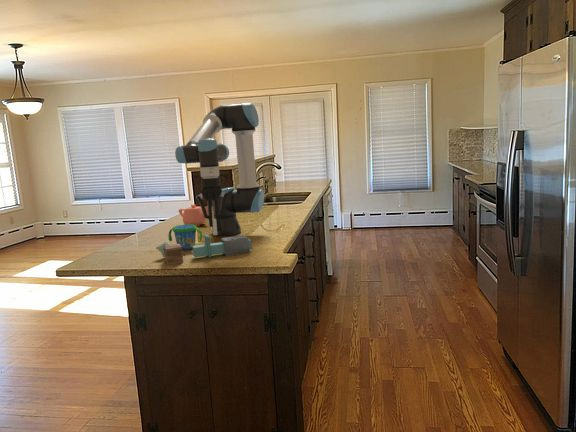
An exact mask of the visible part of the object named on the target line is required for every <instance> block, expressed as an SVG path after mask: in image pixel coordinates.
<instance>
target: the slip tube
mask: <svg viewBox="0 0 576 432" xmlns="http://www.w3.org/2000/svg"><path fill="white" fill-rule="evenodd" d="M210 239H211V237H210V236H209V235H208V233H206V234H205V233H204V242H205V243H203V244H198V245H196V244H195V246H192V247H193V248H192V254H193V257H194V258H201V257H207V258H208V259H211V258H212V256H216V255H224V254H223V253H225V243H224V242H222V241H219V242H212V243H211V240H210ZM248 242H249V251H250V250H253V248H252V246H253V245H252V240H251V239H250V238H248Z"/></svg>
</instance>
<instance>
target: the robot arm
mask: <svg viewBox="0 0 576 432" xmlns="http://www.w3.org/2000/svg"><path fill="white" fill-rule="evenodd" d="M259 120H260V119H259V114H258V111H257V108H256V106H255V105H254V104H253V103H251V102H243V103H233V104H231V103H230V104H223V105H219V106H216V107H215V108H213V109H212V110H211V111H209V112H208V113H207V114H206V115H205V116H204V118H203V120H202V124H201V125H200V127H198V129H197V130H196V132H195V133H193V135H192V136H191V138H190V139H189V140H188V142H187V143H186V145H179V146H177V147H176V148H175V151H174V154H175V160H176V161H177V163H179V164H186V165H187V164H199V167H200V168H199V170H200V177H201V180H200V181H201V182H200V183H201V191H200V193H199V194H198V195H196V196H195V199H196V200H197V201H198V202H199V203H198V204H199V207H201V209H202V212H203V215H204V217H205V218H206V220H207V219H208V224H209V227H210V228H211V229H210V230H211V235H213V236H217V237H218V236H219V237H220V236H221V237H223V236H234V235H237V234H240V233H241V232H242V228H241V225H240V223H239V220H238V217H237V213H238V214H239V213H240V214H241V213H242V214H246V213H250V214H252V213H259V212H261V211H262V210H263V207H264V203H265V191H264V190H263V188H260V187H261V186H260V184H259V183H258V182H257V175H256V172H257V171H256V162H255V159H256V158H255V148H254V147H255V146H254V133H255V132H256V128H258V126H259V124H260V123H259V122H260V121H259ZM226 129H229V130H230V129H231V133H233V134H234V136H235V145H236V146H235V148H236V159H237V169H238V171H237V172H238V182H239V183H238V185H237V186H236V189H235V187H231V186H230V187H225V188H222V187H221V178H220V177H219V176H220V167H219V166H220V165H219V164H220V162H221V163H222V162H225V161H226V160H227V159H229V156H230V149H229V147H228V146H227V145H226V144H224V143H223V144H222V143H218V141H217V139H216V138H214V137H215V135H216V134H218V133H219V132H220V131H222V130H226ZM203 199H205V200H206V204H207V205H206V206H208V215H207V212H206V207H205V203H204V201H203Z"/></svg>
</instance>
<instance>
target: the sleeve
mask: <svg viewBox="0 0 576 432" xmlns="http://www.w3.org/2000/svg"><path fill="white" fill-rule="evenodd" d="M248 239H249V237H247V236H246V235H235V236H227V237H221V238H220V240H221V241H220V242H224V243H225V253H223V254H222V255H224V256H225V257H229V256H236V255H237V254H238V255H243V254H242V253H245V254H249V253H250V250H249V242H248ZM238 255H237V256H238Z"/></svg>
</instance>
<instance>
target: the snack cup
mask: <svg viewBox="0 0 576 432" xmlns="http://www.w3.org/2000/svg"><path fill="white" fill-rule="evenodd" d="M172 232H173V233H174V238H175V242H176V244H180V245H181V247H182V251H183V250H193V247H192V246H196V232H198V234H199V241H200V242H202V241H203V233H202V230H201V229H200V228H199V226H198V227H196V225H185V224H180V225H175V226H173V227H172V228H171V229H170V230H169V232H168V241H169V242H172V241H173V237H172Z"/></svg>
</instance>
